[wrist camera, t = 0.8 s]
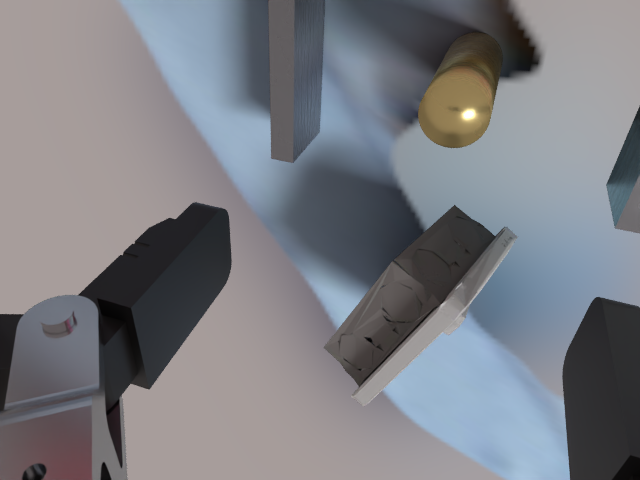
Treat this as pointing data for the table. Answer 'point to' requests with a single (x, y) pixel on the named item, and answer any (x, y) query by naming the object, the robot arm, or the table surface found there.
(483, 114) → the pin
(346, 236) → the table surface
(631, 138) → the bracket
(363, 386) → the electrical switch
